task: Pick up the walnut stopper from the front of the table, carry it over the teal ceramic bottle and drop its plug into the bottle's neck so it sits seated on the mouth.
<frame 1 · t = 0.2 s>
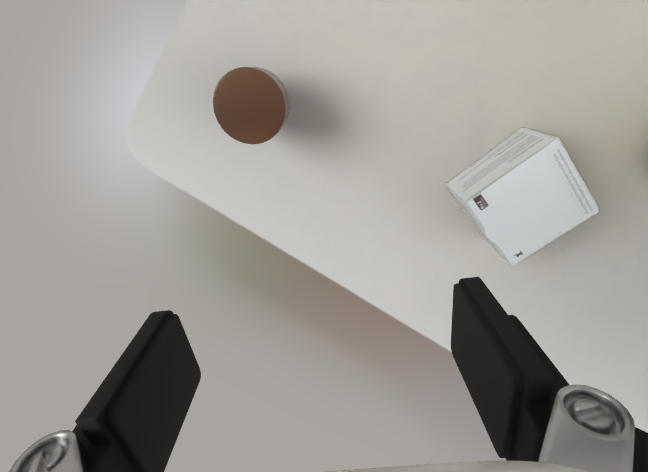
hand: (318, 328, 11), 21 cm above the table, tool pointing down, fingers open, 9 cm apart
small box: (501, 186, 31), on the table
stopper: (262, 100, 27), on the table
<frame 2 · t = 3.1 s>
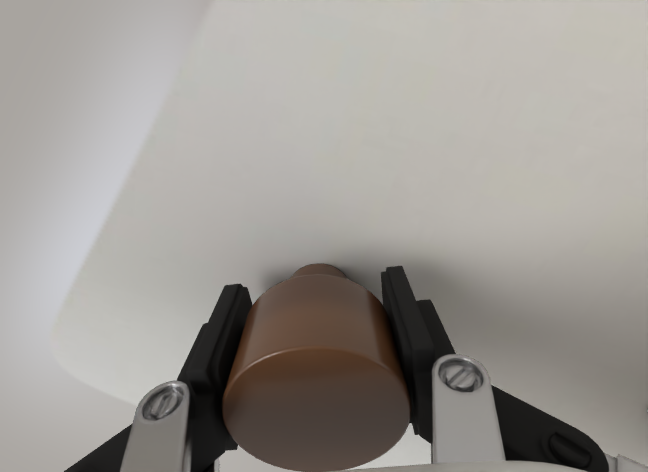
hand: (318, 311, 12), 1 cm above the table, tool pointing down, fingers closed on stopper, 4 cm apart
stopper: (318, 290, 13), on the table, touching gripper
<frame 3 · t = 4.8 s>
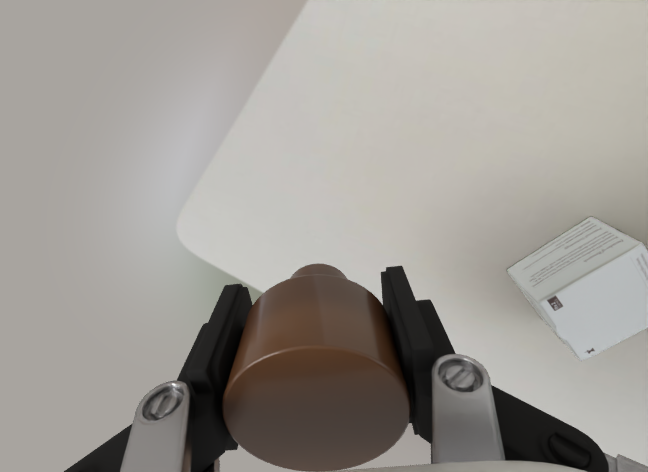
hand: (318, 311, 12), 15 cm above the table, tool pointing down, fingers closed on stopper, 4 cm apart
small box: (563, 271, 30), on the table
stopper: (318, 290, 13), point 14 cm above the table, touching gripper
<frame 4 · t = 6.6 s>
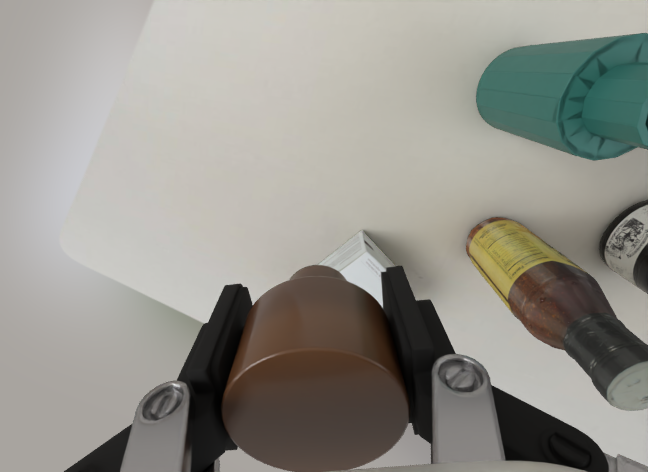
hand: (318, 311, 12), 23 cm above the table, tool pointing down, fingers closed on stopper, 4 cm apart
ink bottle: (638, 234, 37), on the table
small box: (357, 270, 39), on the table
stopper: (318, 291, 13), point 22 cm above the table, touching gripper
sauce bottle: (490, 237, 37), on the table
bottle: (514, 89, 31), on the table
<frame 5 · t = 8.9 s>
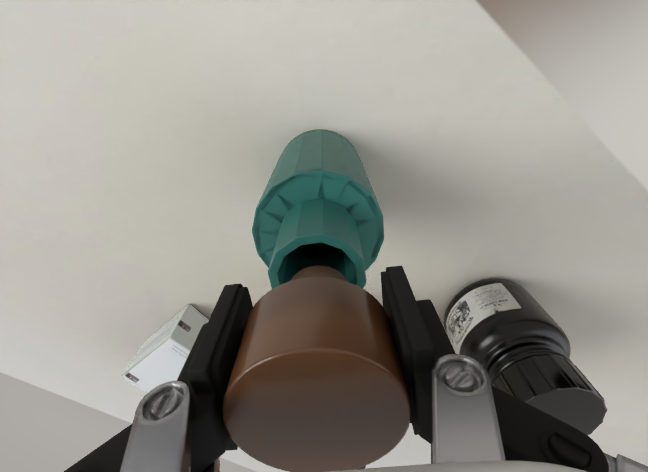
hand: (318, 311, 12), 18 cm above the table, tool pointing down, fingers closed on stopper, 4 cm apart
ink bottle: (484, 310, 35), on the table
small box: (195, 340, 37), on the table
stopper: (318, 291, 13), point 17 cm above the table, touching gripper
bottle: (319, 171, 28), on the table
when the fingers open (15 cm above the table, at t = 10.2 s): stopper stays where it is, resting on bottle.
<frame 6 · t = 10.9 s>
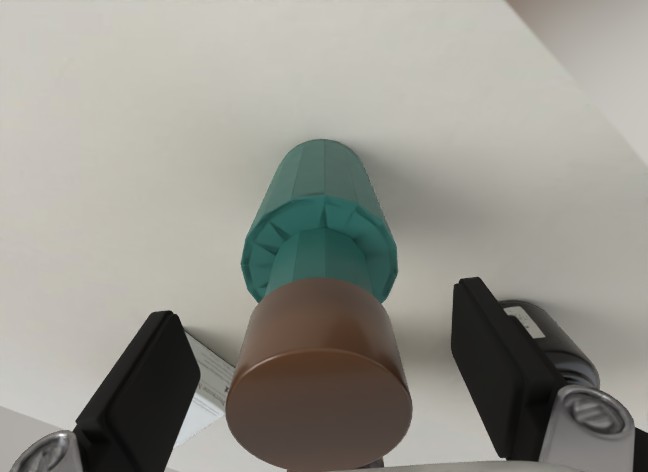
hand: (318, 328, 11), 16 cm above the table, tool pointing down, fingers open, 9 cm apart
ink bottle: (500, 334, 32), on the table
small box: (186, 365, 34), on the table
stopper: (320, 292, 14), point 13 cm above the table, touching bottle
bottle: (321, 185, 26), on the table
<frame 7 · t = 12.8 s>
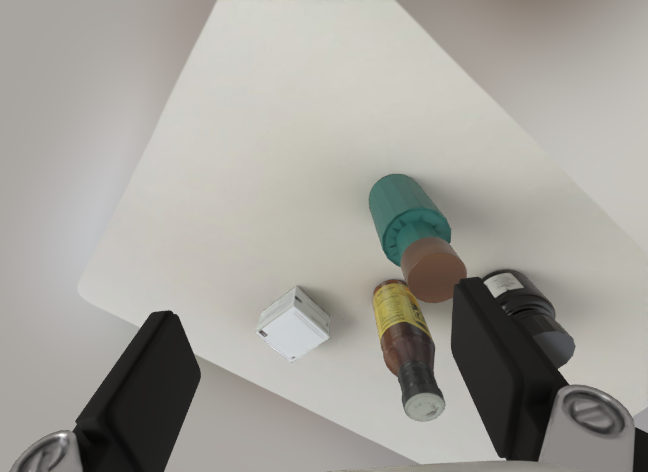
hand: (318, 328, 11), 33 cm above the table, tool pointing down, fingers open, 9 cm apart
ink bottle: (498, 292, 51), on the table
small box: (295, 312, 53), on the table
stopper: (420, 247, 33), point 13 cm above the table, touching bottle
sauce bottle: (391, 292, 51), on the table
bottle: (394, 199, 45), on the table
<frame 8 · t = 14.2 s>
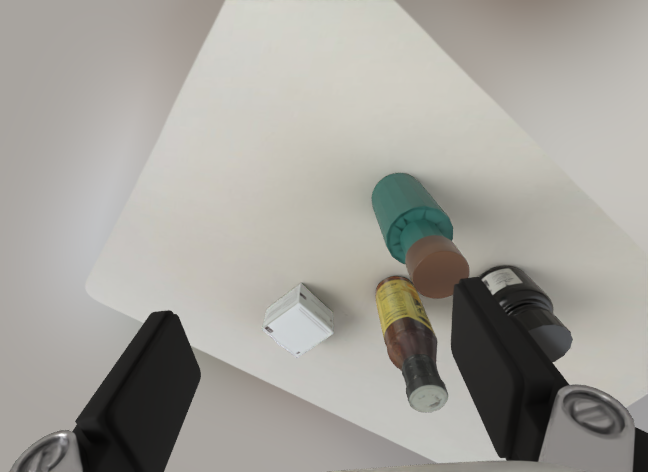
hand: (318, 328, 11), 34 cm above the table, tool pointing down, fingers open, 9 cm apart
ink bottle: (497, 288, 52), on the table
small box: (300, 309, 54), on the table
stopper: (423, 245, 34), point 13 cm above the table, touching bottle
sauce bottle: (393, 288, 53), on the table
bottle: (396, 197, 46), on the table
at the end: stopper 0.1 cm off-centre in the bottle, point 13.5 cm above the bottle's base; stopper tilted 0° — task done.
